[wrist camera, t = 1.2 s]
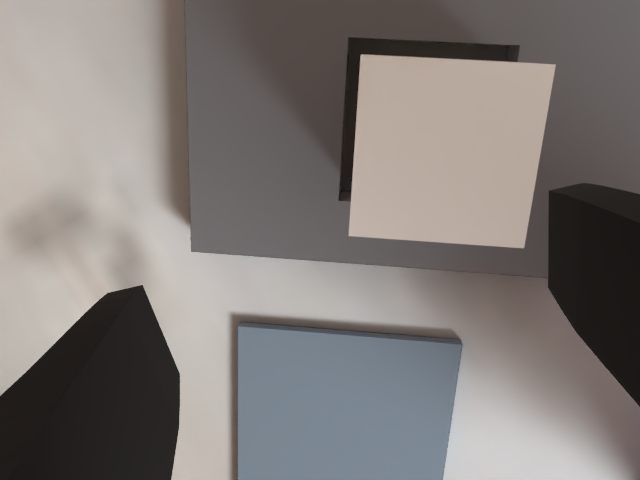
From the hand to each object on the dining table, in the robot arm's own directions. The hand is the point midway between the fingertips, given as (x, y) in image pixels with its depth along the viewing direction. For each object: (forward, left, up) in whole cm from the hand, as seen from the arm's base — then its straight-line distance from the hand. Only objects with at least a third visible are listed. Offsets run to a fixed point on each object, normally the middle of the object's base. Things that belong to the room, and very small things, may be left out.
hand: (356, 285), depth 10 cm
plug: (-2, -2, -11) cm, 12 cm away
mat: (0, +11, -11) cm, 16 cm away
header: (-2, -2, -11) cm, 12 cm away
